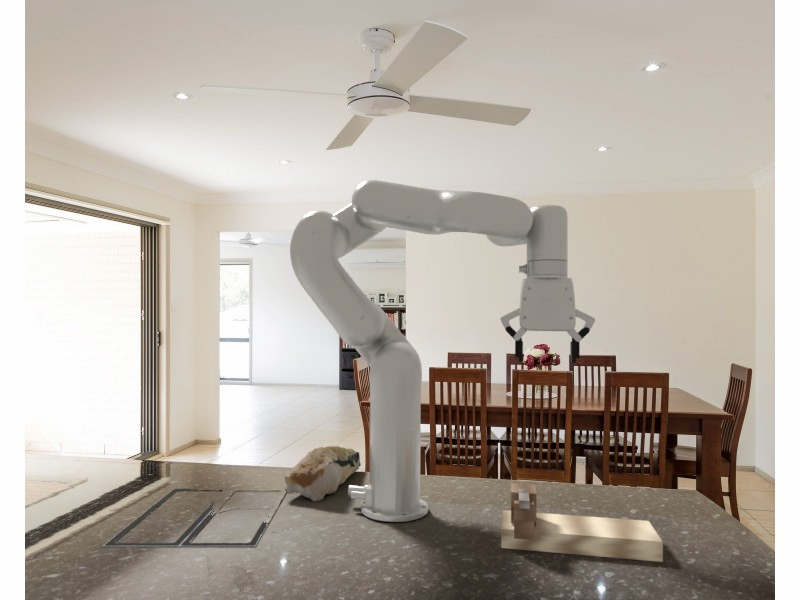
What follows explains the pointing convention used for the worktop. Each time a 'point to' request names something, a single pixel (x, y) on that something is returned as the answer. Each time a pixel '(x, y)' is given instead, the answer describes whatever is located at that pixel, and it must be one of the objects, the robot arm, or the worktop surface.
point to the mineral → (322, 471)
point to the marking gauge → (523, 510)
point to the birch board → (587, 536)
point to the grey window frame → (187, 535)
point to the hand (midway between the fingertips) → (546, 362)
